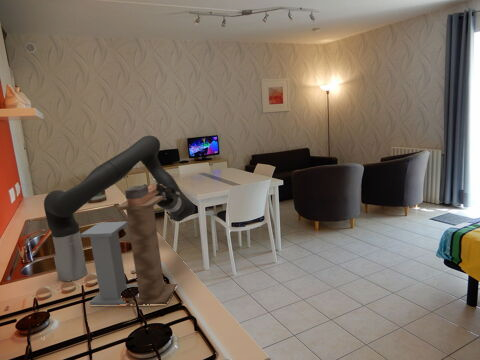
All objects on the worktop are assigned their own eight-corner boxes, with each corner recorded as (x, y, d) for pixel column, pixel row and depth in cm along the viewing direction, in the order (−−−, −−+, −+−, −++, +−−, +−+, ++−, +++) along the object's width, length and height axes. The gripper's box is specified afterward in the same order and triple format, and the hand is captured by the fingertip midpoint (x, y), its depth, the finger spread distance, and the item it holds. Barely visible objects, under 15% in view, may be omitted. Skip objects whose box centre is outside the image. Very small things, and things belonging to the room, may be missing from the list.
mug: (103, 197, 266) (100, 178, 263) (109, 200, 255) (106, 180, 252) (76, 203, 254) (73, 183, 251) (81, 206, 243) (77, 185, 240)
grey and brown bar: (127, 205, 102) (124, 190, 101) (151, 190, 120) (149, 177, 119) (141, 204, 101) (139, 189, 100) (163, 189, 120) (162, 176, 119)
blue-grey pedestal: (90, 306, 109) (77, 234, 105) (107, 288, 120) (96, 222, 115) (126, 306, 108) (114, 233, 103) (140, 288, 118) (130, 221, 114)
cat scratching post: (129, 306, 108) (113, 207, 101) (143, 288, 118) (129, 197, 112) (166, 306, 106) (152, 205, 100) (177, 288, 117) (165, 195, 110)
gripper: (151, 191, 132) (131, 177, 116) (187, 189, 130) (172, 174, 114) (149, 210, 130) (129, 198, 114) (186, 209, 128) (170, 196, 112)
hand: (150, 186), depth 114 cm, fingers closed on grey and brown bar, 4 cm apart
